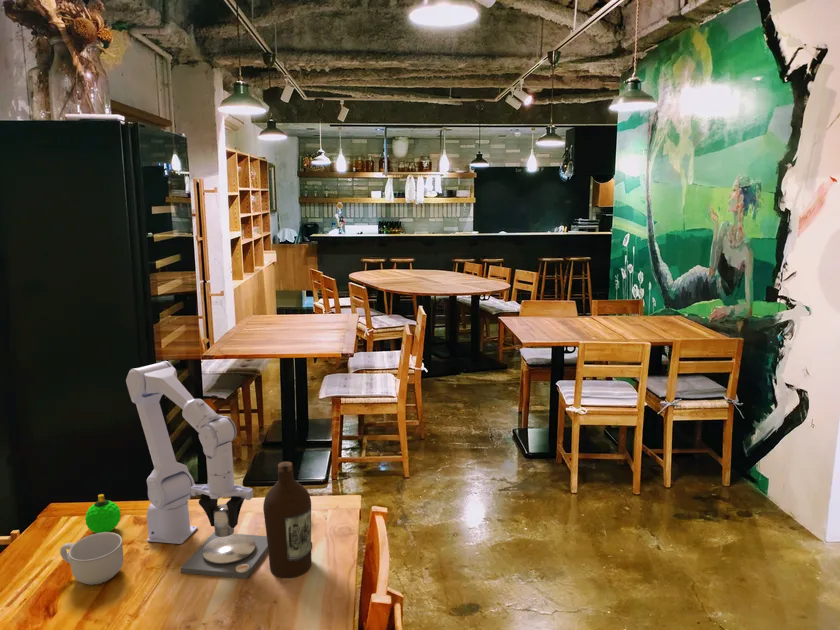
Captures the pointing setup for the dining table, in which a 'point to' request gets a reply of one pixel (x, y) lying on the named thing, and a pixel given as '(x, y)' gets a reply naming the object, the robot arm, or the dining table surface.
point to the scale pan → (228, 549)
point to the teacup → (95, 557)
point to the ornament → (102, 515)
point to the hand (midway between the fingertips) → (224, 525)
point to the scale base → (234, 570)
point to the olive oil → (288, 525)
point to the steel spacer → (222, 521)
